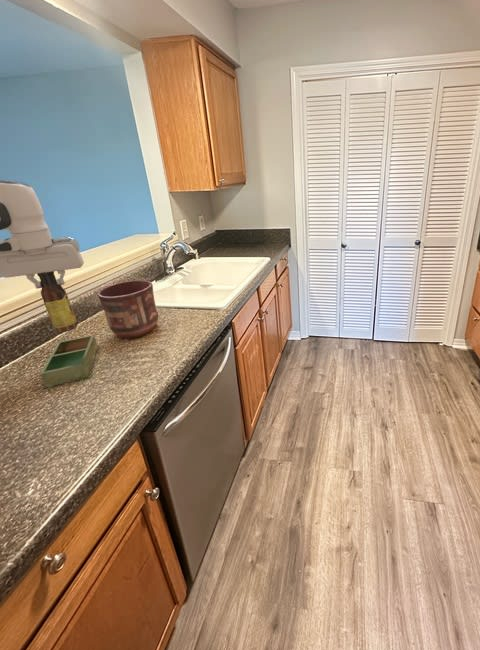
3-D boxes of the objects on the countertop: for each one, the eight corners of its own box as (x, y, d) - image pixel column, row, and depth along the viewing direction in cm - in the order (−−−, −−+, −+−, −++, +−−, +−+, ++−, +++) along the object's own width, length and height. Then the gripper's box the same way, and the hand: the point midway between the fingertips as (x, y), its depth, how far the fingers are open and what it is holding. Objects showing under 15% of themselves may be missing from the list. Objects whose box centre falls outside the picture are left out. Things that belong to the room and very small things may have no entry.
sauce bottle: (82, 326, 104) (62, 267, 97) (61, 335, 100) (38, 273, 92) (71, 323, 108) (51, 265, 100) (50, 330, 103) (28, 270, 95)
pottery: (159, 338, 118) (148, 292, 111) (106, 347, 114) (91, 300, 106) (164, 318, 133) (154, 277, 126) (117, 325, 129) (105, 283, 122)
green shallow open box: (46, 387, 93) (39, 374, 91) (63, 354, 111) (58, 341, 109) (88, 377, 97) (83, 364, 95) (98, 346, 114) (94, 334, 112)
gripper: (77, 234, 99) (91, 277, 104) (-6, 243, 92) (13, 288, 97) (73, 238, 93) (88, 283, 99) (-16, 247, 86) (5, 295, 92)
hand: (50, 286), depth 98 cm, fingers closed on sauce bottle, 4 cm apart
